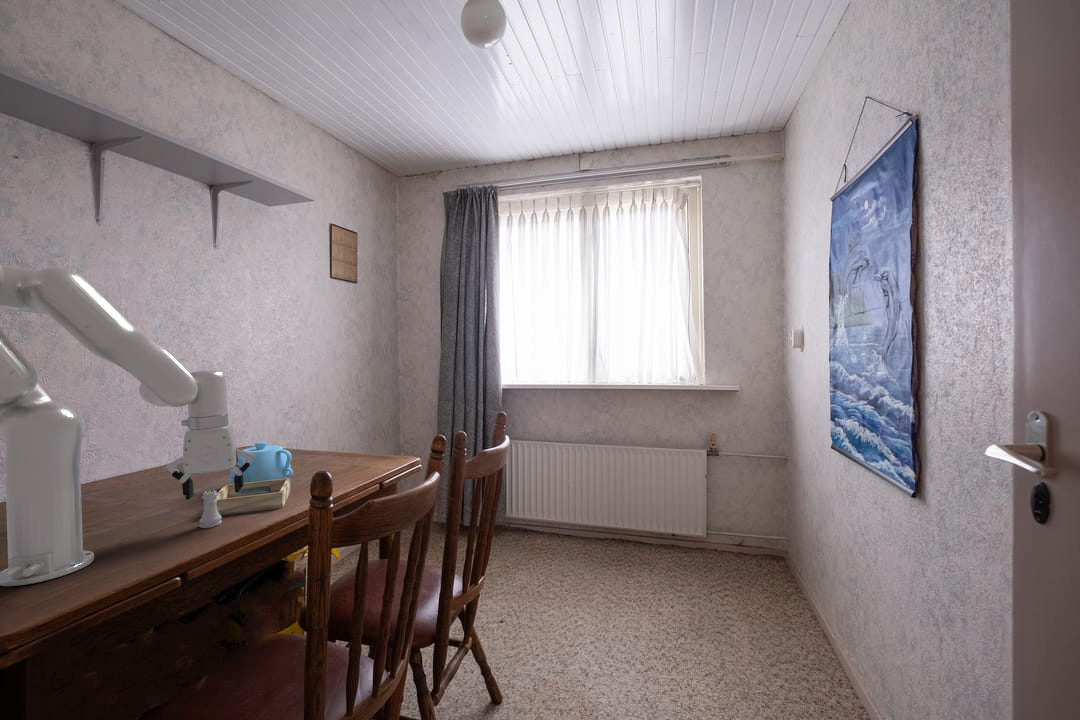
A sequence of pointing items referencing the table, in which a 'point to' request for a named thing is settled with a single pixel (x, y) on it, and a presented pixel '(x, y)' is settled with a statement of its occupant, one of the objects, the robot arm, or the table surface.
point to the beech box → (253, 497)
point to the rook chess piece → (210, 510)
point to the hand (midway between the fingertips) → (214, 494)
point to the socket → (254, 491)
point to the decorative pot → (266, 464)
